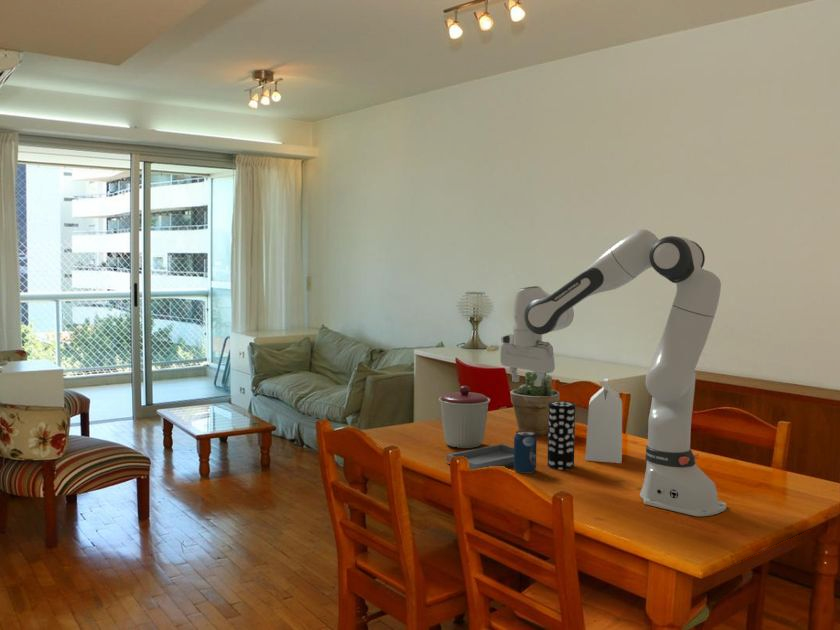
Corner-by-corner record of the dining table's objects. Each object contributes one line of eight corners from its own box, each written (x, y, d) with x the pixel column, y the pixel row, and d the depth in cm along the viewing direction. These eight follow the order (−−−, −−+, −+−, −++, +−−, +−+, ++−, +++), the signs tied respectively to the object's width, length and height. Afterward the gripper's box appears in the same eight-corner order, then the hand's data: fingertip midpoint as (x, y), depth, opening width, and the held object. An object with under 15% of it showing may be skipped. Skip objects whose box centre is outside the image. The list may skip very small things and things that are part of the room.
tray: (531, 461, 240) (531, 452, 240) (475, 474, 226) (475, 464, 225) (501, 452, 251) (501, 443, 251) (446, 463, 237) (446, 454, 237)
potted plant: (562, 438, 271) (564, 371, 269) (512, 438, 271) (513, 370, 269) (554, 427, 289) (555, 364, 287) (507, 426, 290) (508, 363, 288)
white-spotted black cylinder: (573, 470, 230) (575, 407, 229) (546, 468, 232) (548, 405, 231) (573, 463, 239) (575, 402, 237) (547, 461, 240) (549, 400, 239)
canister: (461, 436, 274) (462, 379, 272) (500, 445, 261) (501, 386, 259) (427, 444, 261) (428, 385, 259) (466, 454, 248) (466, 392, 246)
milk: (587, 451, 254) (589, 376, 252) (622, 453, 251) (624, 377, 249) (585, 460, 242) (587, 381, 240) (621, 463, 239) (623, 383, 237)
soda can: (535, 474, 226) (536, 435, 225) (513, 473, 227) (513, 434, 226) (536, 468, 233) (536, 430, 232) (513, 467, 234) (514, 429, 233)
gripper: (560, 341, 220) (558, 387, 221) (512, 335, 237) (511, 378, 238) (545, 343, 217) (544, 390, 218) (497, 336, 233) (496, 380, 234)
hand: (526, 383), depth 228 cm, fingers open, 8 cm apart
